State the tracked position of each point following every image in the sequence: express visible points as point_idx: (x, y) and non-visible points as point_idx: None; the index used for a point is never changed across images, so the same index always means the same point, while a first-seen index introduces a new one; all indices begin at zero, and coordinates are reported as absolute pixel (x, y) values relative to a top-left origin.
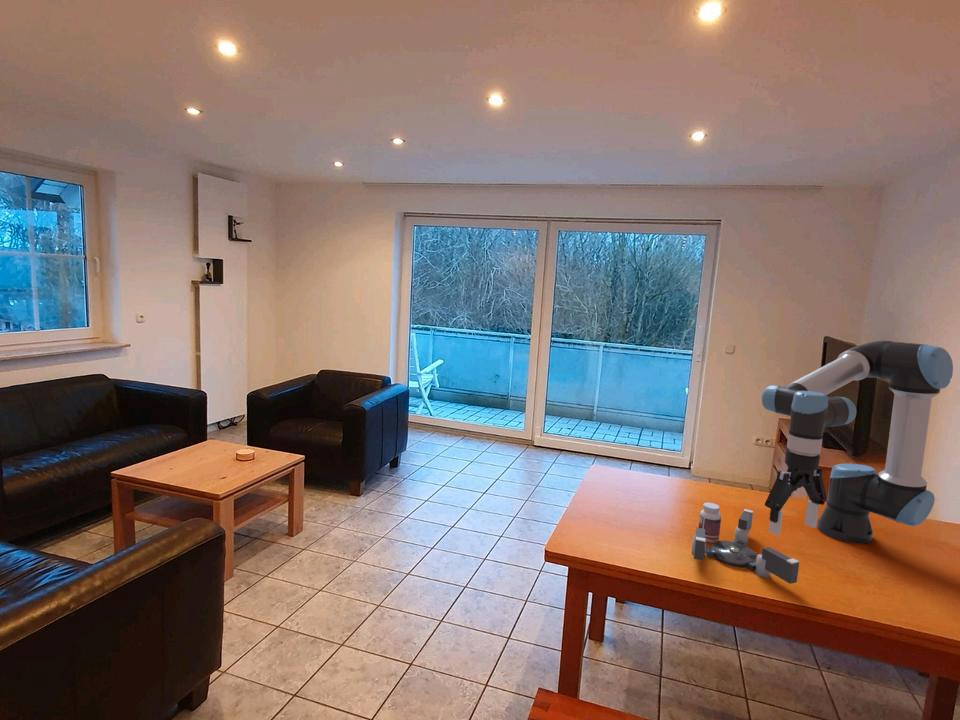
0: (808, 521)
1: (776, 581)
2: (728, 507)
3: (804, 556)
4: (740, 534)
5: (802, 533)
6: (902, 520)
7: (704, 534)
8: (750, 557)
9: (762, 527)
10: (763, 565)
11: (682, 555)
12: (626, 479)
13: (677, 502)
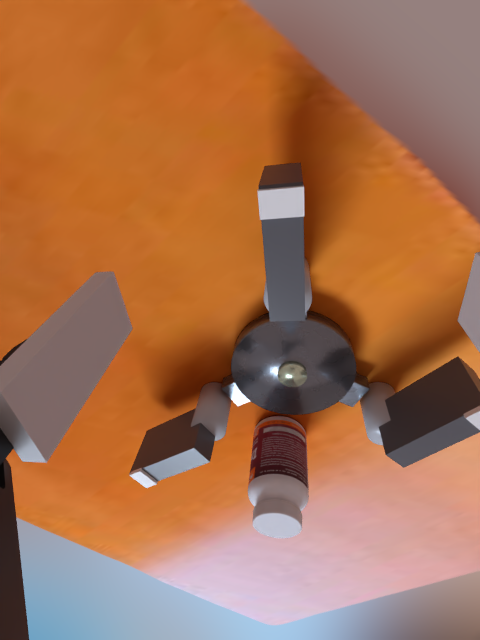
0: (114, 323)
1: None
2: (115, 495)
3: None
4: (223, 415)
5: None
6: None
7: (427, 435)
8: (276, 333)
9: (93, 427)
10: (306, 276)
11: None
12: (253, 596)
13: (218, 532)
